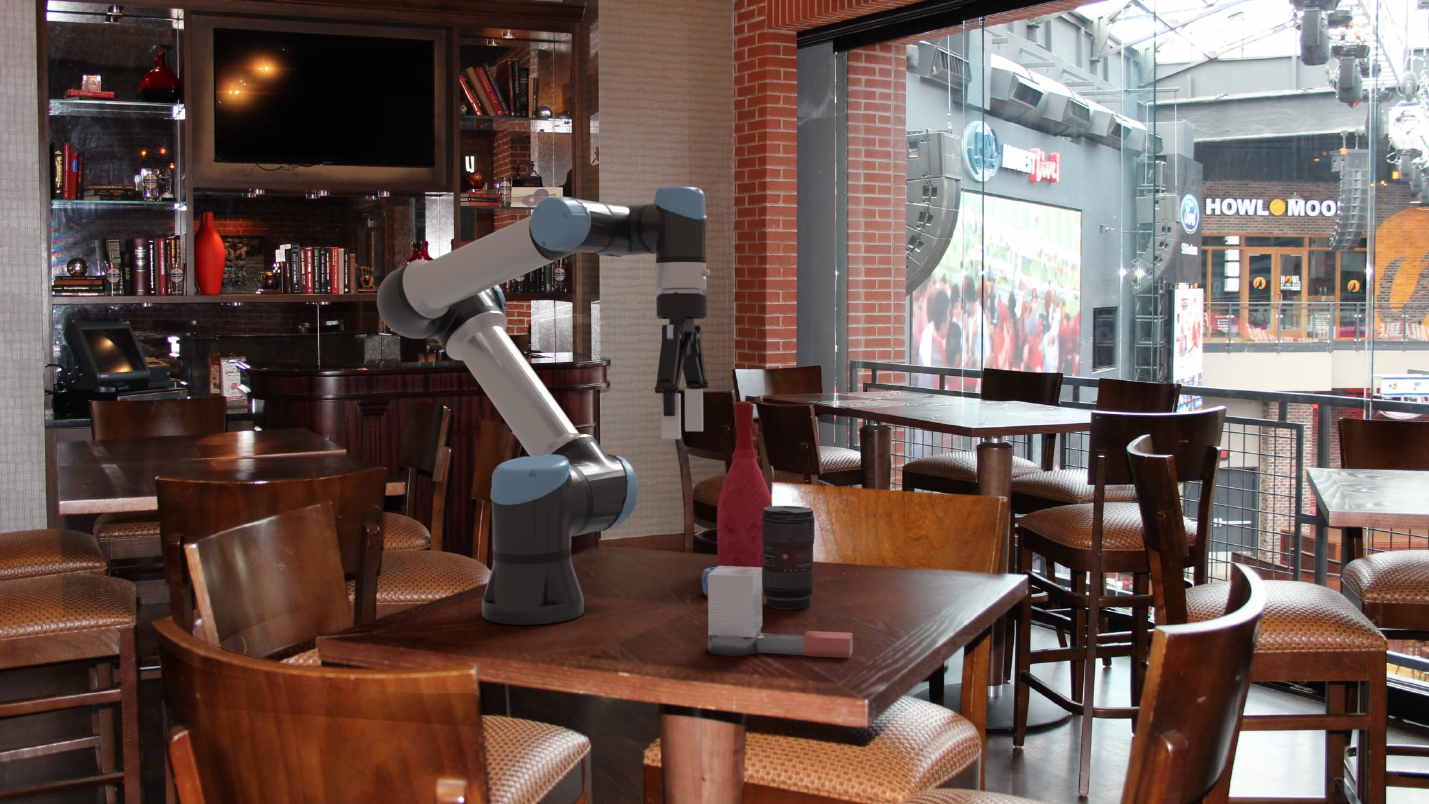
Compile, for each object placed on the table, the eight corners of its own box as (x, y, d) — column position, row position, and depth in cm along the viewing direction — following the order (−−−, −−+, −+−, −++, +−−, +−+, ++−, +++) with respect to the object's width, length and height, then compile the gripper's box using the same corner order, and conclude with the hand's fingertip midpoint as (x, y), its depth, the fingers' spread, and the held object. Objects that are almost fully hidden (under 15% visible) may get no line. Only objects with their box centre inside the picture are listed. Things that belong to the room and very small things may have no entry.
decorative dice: (725, 590, 200) (725, 566, 200) (732, 596, 196) (732, 571, 196) (701, 592, 199) (701, 568, 199) (708, 597, 195) (707, 572, 195)
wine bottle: (718, 566, 220) (716, 399, 218) (773, 566, 220) (772, 399, 218) (716, 578, 210) (714, 403, 208) (773, 577, 210) (772, 402, 208)
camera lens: (811, 611, 184) (811, 512, 183) (758, 609, 186) (757, 511, 185) (817, 600, 192) (817, 505, 191) (766, 598, 194) (766, 504, 193)
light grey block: (708, 635, 161) (707, 574, 160) (718, 624, 166) (718, 565, 166) (753, 637, 159) (753, 576, 159) (762, 626, 165) (761, 567, 165)
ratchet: (702, 654, 160) (702, 609, 160) (715, 641, 167) (714, 597, 167) (847, 662, 156) (847, 615, 156) (854, 648, 163) (854, 603, 163)
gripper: (684, 289, 169) (686, 442, 171) (724, 294, 194) (725, 428, 195) (632, 290, 171) (634, 442, 172) (678, 295, 195) (680, 427, 197)
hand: (683, 435), depth 184 cm, fingers open, 13 cm apart
